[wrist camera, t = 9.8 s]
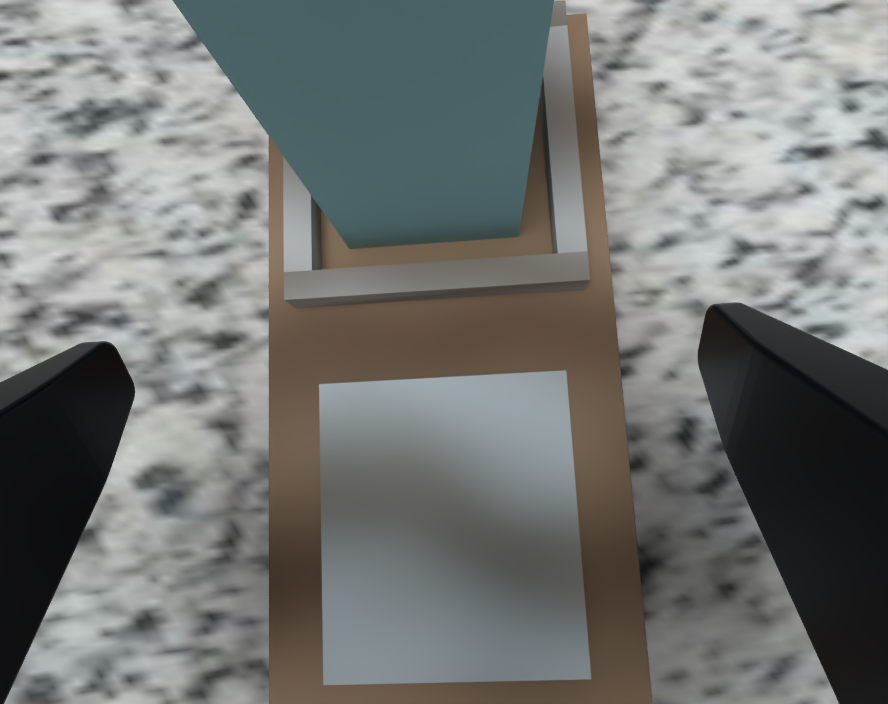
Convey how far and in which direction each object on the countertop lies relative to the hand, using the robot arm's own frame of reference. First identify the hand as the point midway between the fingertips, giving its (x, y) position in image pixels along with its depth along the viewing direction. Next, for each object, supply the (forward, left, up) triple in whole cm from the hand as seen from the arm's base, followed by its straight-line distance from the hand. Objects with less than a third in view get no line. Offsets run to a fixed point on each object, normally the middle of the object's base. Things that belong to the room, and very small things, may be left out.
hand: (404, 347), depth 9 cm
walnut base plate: (+1, -1, -10) cm, 10 cm away
